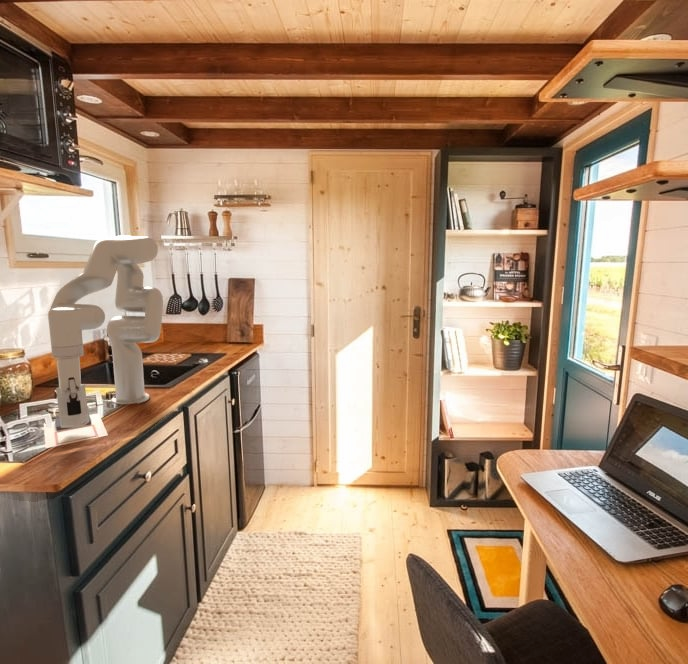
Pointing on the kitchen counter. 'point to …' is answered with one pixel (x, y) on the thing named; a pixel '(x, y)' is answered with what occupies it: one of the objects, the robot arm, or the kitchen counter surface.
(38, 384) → the kitchen counter surface
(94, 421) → the stamping board
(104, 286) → the robot arm
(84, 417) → the skincare box
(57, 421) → the ink pad
